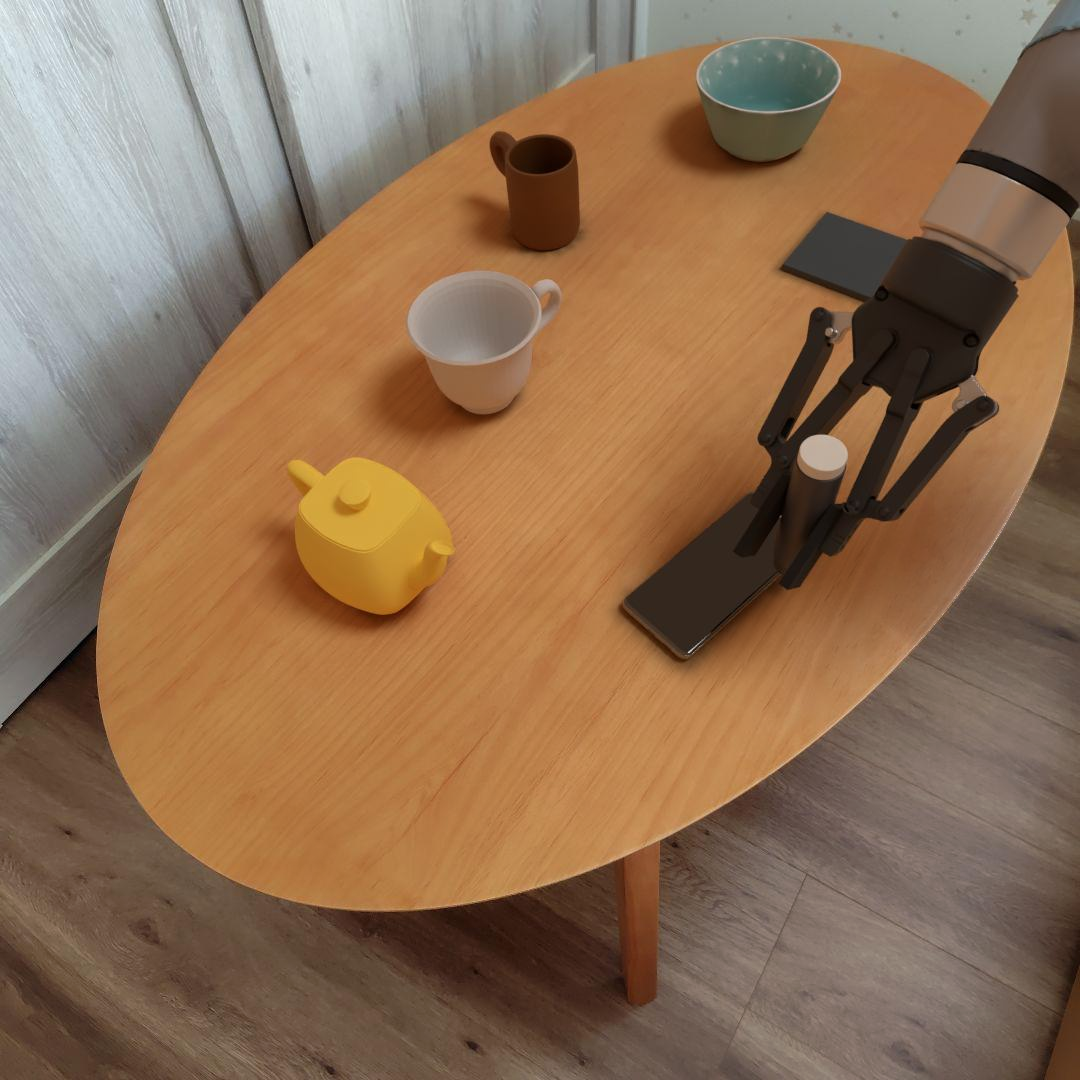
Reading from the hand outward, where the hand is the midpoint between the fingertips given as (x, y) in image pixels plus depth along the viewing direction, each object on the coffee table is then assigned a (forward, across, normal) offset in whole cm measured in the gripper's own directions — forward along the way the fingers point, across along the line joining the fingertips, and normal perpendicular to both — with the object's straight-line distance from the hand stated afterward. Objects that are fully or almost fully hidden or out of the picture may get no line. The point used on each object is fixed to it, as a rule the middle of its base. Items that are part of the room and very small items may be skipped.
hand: (766, 568), depth 66 cm
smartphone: (+5, +5, -9) cm, 12 cm away
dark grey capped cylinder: (0, 0, -5) cm, 5 cm away
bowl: (-30, +40, -45) cm, 67 cm away
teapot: (+18, +26, +4) cm, 32 cm away
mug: (-10, +50, -25) cm, 57 cm away
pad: (-23, +20, -37) cm, 48 cm away
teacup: (+4, +35, -11) cm, 37 cm away
